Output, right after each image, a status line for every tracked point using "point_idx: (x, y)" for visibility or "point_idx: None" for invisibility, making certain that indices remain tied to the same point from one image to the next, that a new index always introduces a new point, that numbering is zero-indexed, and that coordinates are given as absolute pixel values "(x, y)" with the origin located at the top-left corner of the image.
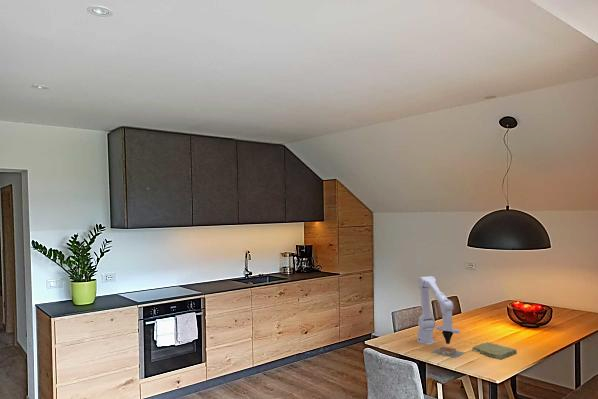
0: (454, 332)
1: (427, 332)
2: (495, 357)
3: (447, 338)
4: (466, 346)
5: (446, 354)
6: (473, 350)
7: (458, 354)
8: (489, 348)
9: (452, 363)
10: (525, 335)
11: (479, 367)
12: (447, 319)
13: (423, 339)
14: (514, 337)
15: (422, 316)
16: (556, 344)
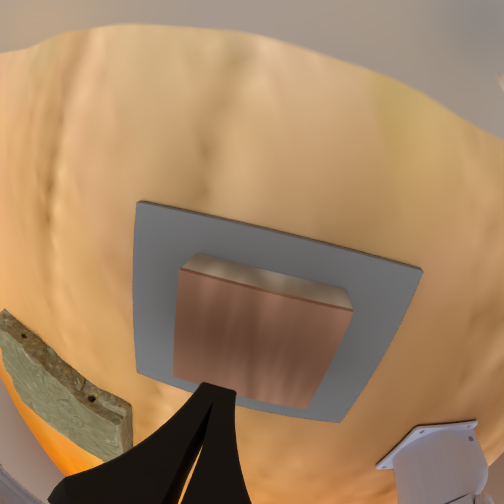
0: (17, 488)
1: (442, 493)
2: (13, 323)
3: (172, 445)
4: (196, 460)
5: (242, 265)
6: (116, 405)
7: (151, 320)
8: (57, 406)
9: (131, 64)
10: None
11: (6, 129)
12: None
13: (455, 445)
14: None
15: None
16: (44, 446)
